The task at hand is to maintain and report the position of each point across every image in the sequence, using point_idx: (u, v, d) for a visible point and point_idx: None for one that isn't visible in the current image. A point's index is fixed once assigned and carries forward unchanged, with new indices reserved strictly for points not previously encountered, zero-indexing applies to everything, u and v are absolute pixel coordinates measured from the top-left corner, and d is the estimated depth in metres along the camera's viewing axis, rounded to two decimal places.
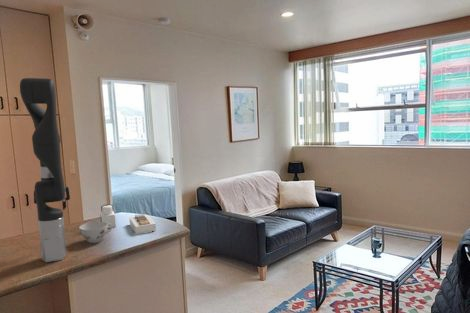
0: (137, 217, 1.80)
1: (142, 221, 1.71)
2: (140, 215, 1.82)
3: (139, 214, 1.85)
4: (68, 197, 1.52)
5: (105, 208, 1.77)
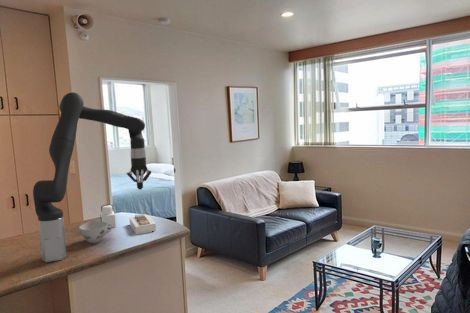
0: (137, 217, 1.80)
1: (142, 221, 1.71)
2: (140, 215, 1.82)
3: (139, 214, 1.85)
4: (145, 179, 1.75)
5: (105, 208, 1.77)
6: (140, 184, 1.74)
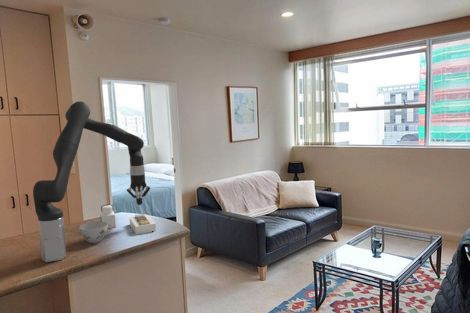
0: (137, 217, 1.80)
1: (142, 221, 1.71)
2: (140, 215, 1.82)
3: (139, 214, 1.85)
4: (144, 194, 1.81)
5: (105, 208, 1.77)
6: (139, 200, 1.80)
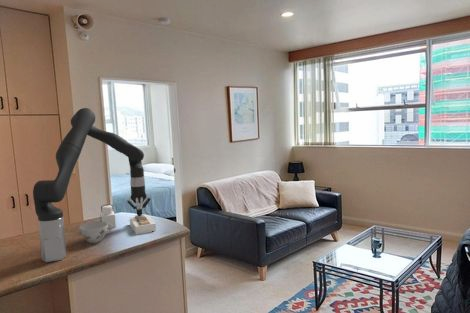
0: None
1: (142, 221, 1.71)
2: (140, 216, 1.83)
3: None
4: (145, 205, 1.82)
5: (105, 208, 1.77)
6: (139, 211, 1.82)
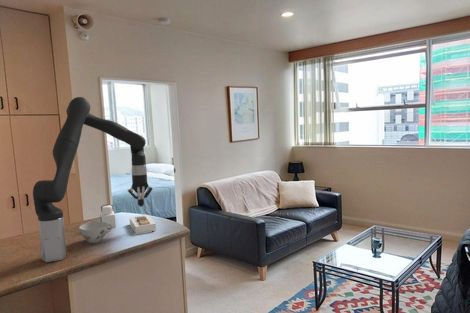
0: None
1: (142, 221, 1.71)
2: None
3: None
4: (146, 195, 1.74)
5: (105, 208, 1.77)
6: (141, 201, 1.73)
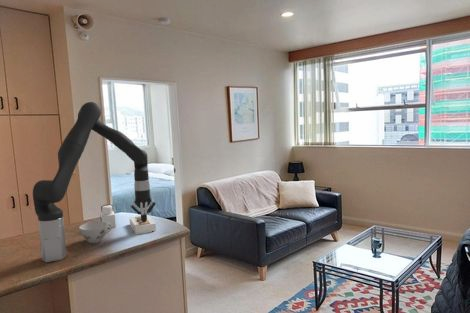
0: None
1: (142, 222, 1.72)
2: None
3: None
4: (149, 210, 1.72)
5: (105, 208, 1.77)
6: (144, 216, 1.71)
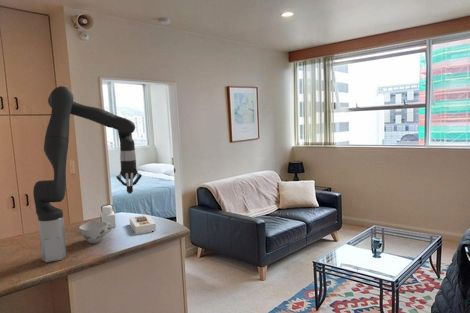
0: None
1: (142, 223, 1.72)
2: None
3: None
4: (135, 182, 1.69)
5: (105, 208, 1.77)
6: (130, 188, 1.68)
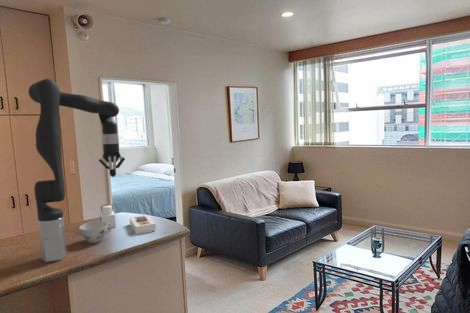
0: None
1: (142, 223, 1.72)
2: None
3: None
4: (118, 165, 1.70)
5: (105, 208, 1.77)
6: (113, 171, 1.69)
